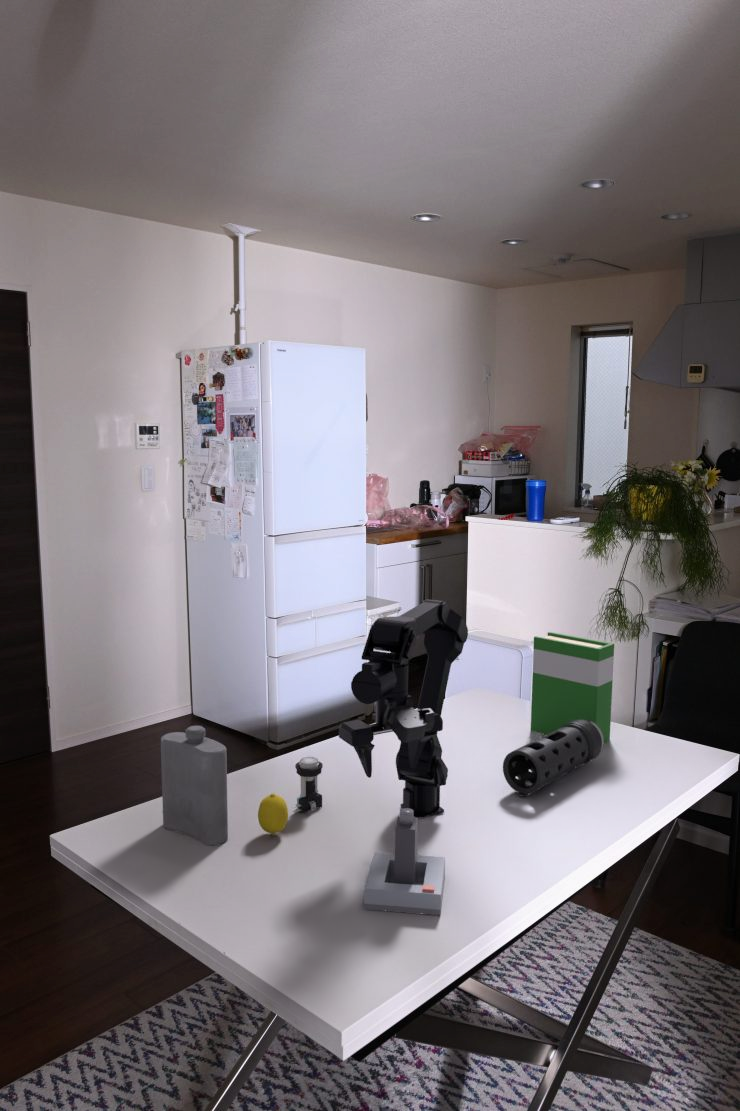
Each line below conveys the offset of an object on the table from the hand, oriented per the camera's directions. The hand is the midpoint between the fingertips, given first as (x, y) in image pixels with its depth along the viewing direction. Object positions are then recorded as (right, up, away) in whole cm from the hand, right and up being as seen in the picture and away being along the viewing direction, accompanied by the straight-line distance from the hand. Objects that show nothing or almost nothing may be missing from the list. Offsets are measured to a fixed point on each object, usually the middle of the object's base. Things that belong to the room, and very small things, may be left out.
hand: (391, 772), depth 158 cm
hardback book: (+45, -5, +58) cm, 73 cm away
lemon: (-22, -13, +4) cm, 25 cm away
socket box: (+2, -16, -16) cm, 22 cm away
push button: (-16, -11, +15) cm, 25 cm away
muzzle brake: (+36, -9, +31) cm, 49 cm away
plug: (+2, -15, -16) cm, 22 cm away
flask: (-36, -12, +5) cm, 38 cm away
